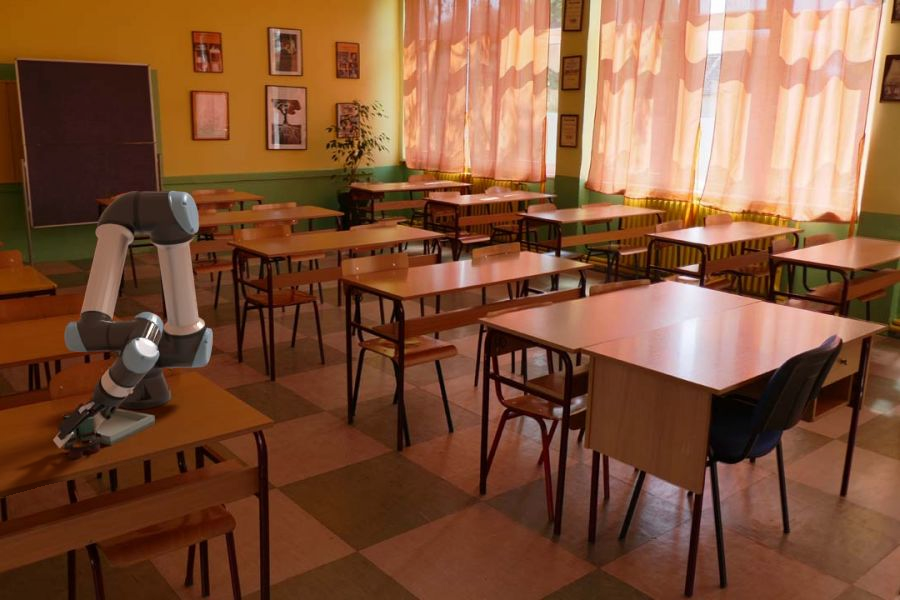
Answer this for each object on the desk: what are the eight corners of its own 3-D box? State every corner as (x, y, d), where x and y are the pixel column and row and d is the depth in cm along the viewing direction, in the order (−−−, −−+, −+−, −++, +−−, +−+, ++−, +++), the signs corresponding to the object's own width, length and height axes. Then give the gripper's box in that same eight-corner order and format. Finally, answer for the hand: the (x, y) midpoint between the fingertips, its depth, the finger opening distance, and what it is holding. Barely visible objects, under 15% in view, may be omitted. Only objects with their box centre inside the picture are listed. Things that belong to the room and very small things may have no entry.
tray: (111, 415, 225) (110, 407, 225) (155, 423, 220) (154, 415, 219) (65, 435, 211) (64, 427, 210) (111, 445, 205) (110, 436, 205)
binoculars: (72, 427, 192) (53, 414, 198) (75, 466, 195) (55, 451, 201) (107, 417, 198) (88, 404, 204) (109, 454, 202) (90, 440, 207)
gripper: (88, 413, 181) (46, 464, 191) (156, 383, 201) (115, 432, 211) (69, 388, 182) (27, 441, 192) (139, 361, 202) (98, 410, 211)
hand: (73, 436), depth 201 cm, fingers closed on binoculars, 9 cm apart
